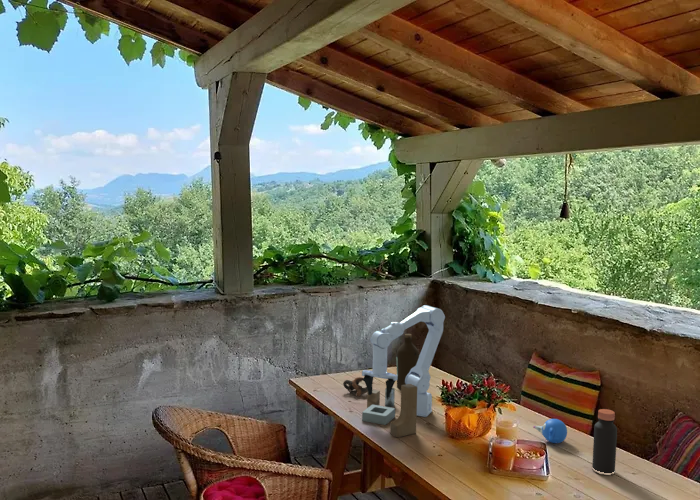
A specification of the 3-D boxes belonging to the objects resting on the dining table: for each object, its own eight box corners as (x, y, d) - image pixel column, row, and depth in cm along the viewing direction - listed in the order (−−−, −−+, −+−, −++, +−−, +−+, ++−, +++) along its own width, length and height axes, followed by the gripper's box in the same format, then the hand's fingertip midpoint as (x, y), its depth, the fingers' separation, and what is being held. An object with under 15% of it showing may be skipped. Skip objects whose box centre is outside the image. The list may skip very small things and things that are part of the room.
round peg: (395, 404, 257) (396, 388, 256) (392, 407, 253) (392, 391, 253) (387, 403, 259) (387, 387, 258) (383, 405, 255) (383, 389, 254)
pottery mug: (366, 390, 277) (371, 377, 273) (365, 405, 269) (370, 392, 264) (341, 383, 276) (346, 371, 272) (339, 398, 268) (344, 385, 264)
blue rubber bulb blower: (535, 432, 228) (536, 410, 227) (569, 438, 222) (570, 416, 222) (529, 443, 217) (530, 420, 217) (563, 450, 212) (564, 427, 211)
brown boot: (396, 438, 221) (397, 389, 219) (389, 433, 224) (390, 386, 223) (416, 433, 225) (417, 386, 224) (409, 429, 229) (410, 383, 227)
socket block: (394, 416, 242) (395, 408, 242) (385, 425, 233) (385, 416, 233) (372, 412, 246) (372, 404, 246) (362, 420, 237) (362, 412, 237)
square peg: (379, 406, 254) (379, 390, 253) (375, 409, 250) (376, 393, 249) (370, 405, 255) (371, 389, 255) (367, 408, 252) (367, 391, 251)
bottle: (595, 465, 200) (598, 406, 199) (617, 471, 196) (620, 411, 194) (589, 471, 195) (592, 411, 193) (611, 478, 191) (614, 416, 189)
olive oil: (420, 385, 284) (422, 333, 282) (415, 391, 274) (416, 337, 272) (399, 382, 288) (400, 331, 286) (392, 389, 278) (394, 335, 276)
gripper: (358, 362, 237) (358, 395, 238) (393, 366, 231) (392, 401, 232) (366, 357, 244) (365, 390, 245) (399, 362, 238) (399, 396, 239)
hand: (379, 395), depth 239 cm, fingers open, 7 cm apart
